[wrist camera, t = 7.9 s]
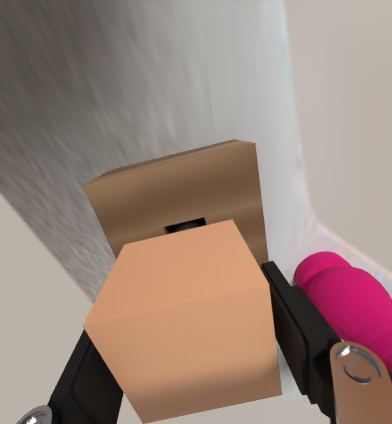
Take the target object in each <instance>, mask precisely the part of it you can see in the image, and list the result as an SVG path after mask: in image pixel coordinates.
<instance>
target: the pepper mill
mask: <svg viewBox="0 0 392 424" xmlns="http://www.w3.org/2000/svg"><path fill="white" fill-rule="evenodd" d="M295 281H296V284H297V285H299V286H300V287H301V288H302V289H303V290H304V291H305V293H306V294H307V295H308V297H309V298H310V299H311V301H312V302H313V303H314V305H315V306H316V307H317V309H318V310H319V311H320V313H321V314H322V315H323V317H324V318H325V319H326V321H327V322H328V323H329V325H330V326H331V327H332V329H333V330H334V331H335V333H336V334H337V335H338V336H339V338H341V339H342V340H344V341H347V342H354V343H357V344H360V345H362V346H364V347H366V348H368V349H370V350H371V351H372V352H373V353H375V354H376V355H377V356H378V357H379V358H380V360H381V361H382V362H383V363H384V365H385V367H386V369H387V370H389V371H391V372H392V299H391V297H390V295H389V294H388V292H387V291H386V290H385V288H384V287H383V286H382V285H381V283H380V282H379V281H378V280H376V279H375V278H374V277H373V276H372V275H371V274H369V273H368V272H366V271H364V270H362V269H359V268H355V267H352V266H351V265H350V264H349V263H348V262H347V261H345V260H344V259H343V258H342V257H340V256H339V255H338V254H335V253H333V252H319V253H316V254H313V255H311V256H309V257H308V258H306V259H305V260H304V261H303V262H302V263H301V264H300V265H299V267H298V268H297V271H296V274H295Z"/></svg>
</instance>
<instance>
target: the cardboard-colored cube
mask: <svg viewBox="0 0 392 424" xmlns="http://www.w3.org/2000/svg"><path fill="white" fill-rule="evenodd" d="M83 327H84V329H85V331H86V332H87V334H88V335H89V337H90V339H91V340H92V342H93V344H94V345H95V347H96V348H97V350H98V352H99V353H100V355H101V356H102V358H103V360H104V361H105V363H106V365H107V366H108V368H109V369H110V371H111V373H112V374H113V376H114V377H115V379H116V381H117V382H118V384H119V386H120V387H121V389H122V390H123V392H124V394H125V395H126V397H127V398H128V400H129V402H130V403H131V405H132V407H133V408H134V410H135V411H136V413H137V415H138V416H139V418H140V419H141V421H142V423H143V424H145V423H150V422H154V421H159V420H164V419H169V418H174V417H178V416H183V415H188V414H192V413H198V412H202V411H207V410H212V409H217V408H221V407H226V406H231V405H236V404H241V403H245V402H250V401H255V400H260V399H265V398H269V397H274V396H279V395H282V390H281V382H280V373H279V365H278V356H277V348H276V339H275V331H274V322H273V314H272V305H271V296H270V288H269V283H268V282H267V280H266V278H265V276H264V274H263V273H262V271H261V269H260V267H259V266H258V264H257V262H256V260H255V258H254V257H253V255H252V253H251V251H250V250H249V248H248V246H247V244H246V242H245V241H244V239H243V237H242V235H241V234H240V232H239V230H238V228H237V226H236V225H235V223H234V221H233V219H231V220H227V221H223V222H218V223H214V224H210V225H206V226H201V227H197V228H193V229H188V230H184V231H180V232H176V233H171V234H167V235H163V236H159V237H154V238H150V239H146V240H141V241H137V242H133V243H129V244H124V246H123V248H122V250H121V252H120V254H119V256H118V258H117V260H116V262H115V264H114V266H113V268H112V270H111V272H110V274H109V275H108V277H107V279H106V281H105V283H104V285H103V287H102V289H101V291H100V293H99V295H98V297H97V299H96V301H95V303H94V305H93V307H92V309H91V311H90V313H89V315H88V317H87V319H86V321H85V323H84V325H83Z"/></svg>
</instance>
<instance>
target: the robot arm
mask: <svg viewBox="0 0 392 424" xmlns="http://www.w3.org/2000/svg"><path fill="white" fill-rule="evenodd" d="M260 269H261V271H262V273H263V274H264V276H265V278H266V280H267V282H268V283H269V288H270V296H271V305H272V314H273V322H274V331H275V337H276V339H277V341H278V344H279V346H280V348H281V350H282V352H283V355H284V357H285V359H286V361H287V364H288V366H289V368H290V370H291V373H292V375H293V377H294V379H295V381H296V384H297V386H298V388H299V390H300V392H301V394H302V395H307V396H308V398H309V401H310V403H311V404H316V403H317V404H318V406H319V408H320V410H321V412H322V413H323V414H325V415H326V416H328V417H329V420H330V421H329V422H330V424H392V372H391V371H389V370H387V369H386V367H385V365H384V363H383V362H382V361H381V360H380V358H379V357H378V356H377V355H376V354H375V353H373V352H372V351H371V350H370V349H368V348H366V347H364V346H362V345H360V344H357V343H354V342H347V341H343V342H342V340H341V339H340V338H339V336H338V335H337V334H336V333H335V331H334V330H333V329H332V327H331V326H330V325H329V323H328V322H327V321H326V319H325V318H324V317H323V315H322V314H321V313H320V311H319V310H318V309H317V307H316V306H315V305H314V303H313V302H312V301H311V299H310V298H309V297H308V295H307V294H306V293H305V291H304V290H303V289H302V288H301V287H300V286H299V285H297V286H292V287H291V286H290V284H289V283H288V282H287V280H286V279H285V277H284V276H283V274H282V273H281V271H280V270H279V269H278V267H277V266H276V264H275V263H274V262H273V261H271V262H266V263H262V264H261V267H260ZM123 393H124V392H123V390H122V389H121V387H120V386H119V384H118V382H117V381H116V379H115V377H114V376H113V374H112V373H111V371H110V369H109V368H108V366H107V365H106V363H105V361H104V360H103V358H102V356H101V355H100V353H99V352H98V350H97V348H96V347H95V345H94V344H93V342H92V340H91V339H90V337H89V335H88V334H87V332H86V331H85V329H84V331H83V333H82V335H81V337H80V339H79V341H78V343H77V345H76V347H75V349H74V351H73V353H72V355H71V357H70V359H69V361H68V363H67V365H66V367H65V369H64V371H63V373H62V375H61V377H60V379H59V381H58V383H57V385H56V387H55V389H54V391H53V393H52V395H51V397H50V400H49V403H48V404H47V406H46V405H43V406H38V407H36V408H34V409H32V410H31V411H29V412H28V413H27V414H26V415H24V416H23V417H22V418H21V419H20V420H19V421H18V422H17V424H117V419H118V415H119V410H120V406H121V402H122V397H123Z"/></svg>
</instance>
